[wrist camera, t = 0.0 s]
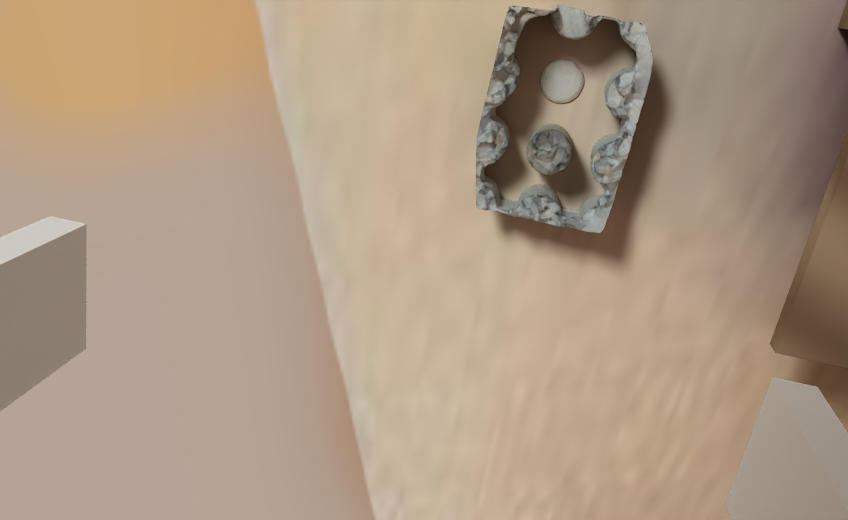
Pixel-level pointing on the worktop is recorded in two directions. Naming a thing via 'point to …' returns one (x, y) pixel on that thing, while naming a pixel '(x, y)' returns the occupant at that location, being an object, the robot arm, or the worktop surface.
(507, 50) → the egg carton
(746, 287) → the worktop surface
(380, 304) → the worktop surface
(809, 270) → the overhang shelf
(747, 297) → the worktop surface
